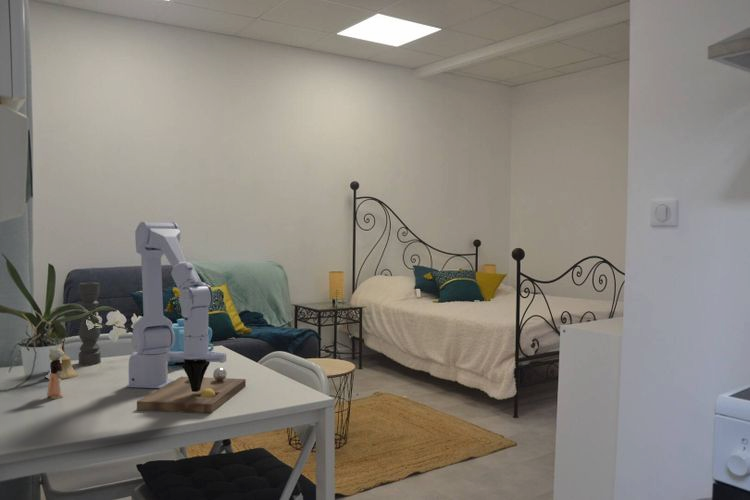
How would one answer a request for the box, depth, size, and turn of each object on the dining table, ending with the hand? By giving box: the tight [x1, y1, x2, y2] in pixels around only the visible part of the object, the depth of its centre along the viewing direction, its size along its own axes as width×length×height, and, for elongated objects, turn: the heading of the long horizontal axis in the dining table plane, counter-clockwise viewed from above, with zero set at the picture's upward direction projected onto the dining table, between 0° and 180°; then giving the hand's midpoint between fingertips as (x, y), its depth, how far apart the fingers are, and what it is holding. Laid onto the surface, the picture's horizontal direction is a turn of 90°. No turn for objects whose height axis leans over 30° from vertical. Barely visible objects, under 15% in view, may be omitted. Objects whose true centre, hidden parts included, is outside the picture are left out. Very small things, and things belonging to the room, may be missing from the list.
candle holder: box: [78, 282, 102, 366], centre depth 187 cm, size 6×6×25 cm
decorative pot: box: [168, 318, 215, 366], centre depth 191 cm, size 16×16×14 cm
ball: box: [200, 388, 215, 397], centre depth 145 cm, size 4×4×4 cm
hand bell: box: [61, 327, 79, 381], centre depth 170 cm, size 8×8×16 cm
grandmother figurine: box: [46, 346, 64, 400], centre depth 149 cm, size 8×4×13 cm, turn 49°
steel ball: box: [212, 367, 228, 381], centre depth 158 cm, size 4×4×4 cm
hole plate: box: [136, 376, 247, 414], centre depth 150 cm, size 18×24×2 cm
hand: (196, 390), depth 146 cm, fingers closed
